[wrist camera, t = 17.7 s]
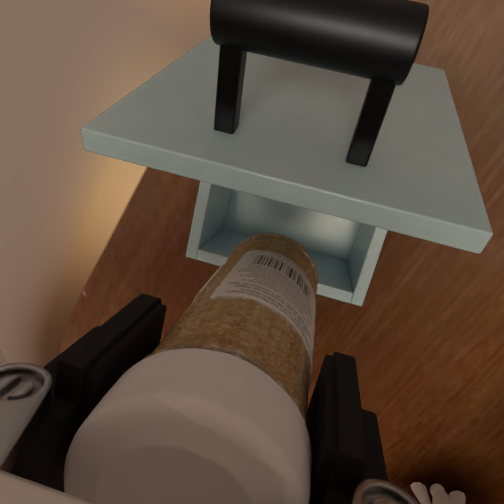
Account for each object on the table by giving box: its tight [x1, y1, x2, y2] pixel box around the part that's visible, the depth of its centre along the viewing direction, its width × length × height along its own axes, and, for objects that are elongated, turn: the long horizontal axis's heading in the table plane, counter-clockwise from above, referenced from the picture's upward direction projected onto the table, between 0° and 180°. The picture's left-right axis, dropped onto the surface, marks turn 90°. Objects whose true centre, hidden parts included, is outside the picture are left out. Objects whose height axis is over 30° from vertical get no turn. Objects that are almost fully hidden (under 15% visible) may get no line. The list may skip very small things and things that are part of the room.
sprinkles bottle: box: [64, 233, 318, 504], centre depth 13 cm, size 5×5×13 cm
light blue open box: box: [186, 181, 388, 306], centre depth 30 cm, size 15×13×9 cm
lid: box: [81, 0, 493, 254], centre depth 17 cm, size 15×13×5 cm
